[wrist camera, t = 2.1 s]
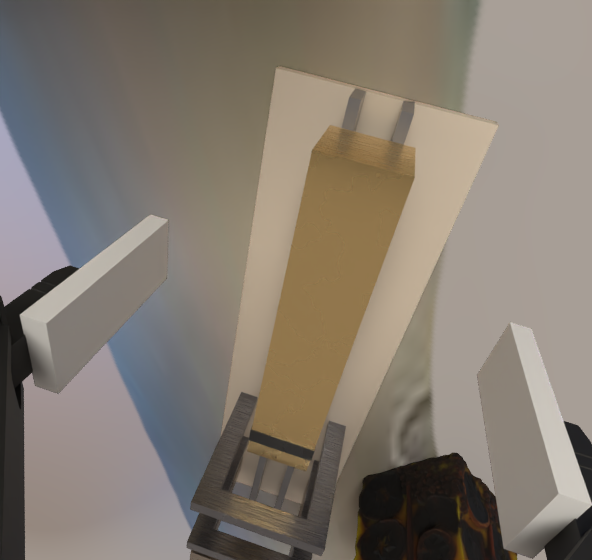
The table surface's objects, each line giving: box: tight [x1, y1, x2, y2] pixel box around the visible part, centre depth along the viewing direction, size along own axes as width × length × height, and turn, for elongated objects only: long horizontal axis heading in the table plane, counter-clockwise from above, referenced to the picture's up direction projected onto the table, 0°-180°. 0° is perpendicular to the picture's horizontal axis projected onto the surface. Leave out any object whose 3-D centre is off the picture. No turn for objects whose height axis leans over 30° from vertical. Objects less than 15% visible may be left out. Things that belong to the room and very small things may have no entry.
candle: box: [354, 453, 517, 560], centre depth 37 cm, size 10×10×10 cm
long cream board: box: [220, 66, 499, 510], centre depth 34 cm, size 40×12×3 cm, turn 169°
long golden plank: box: [247, 125, 416, 471], centre depth 26 cm, size 22×4×4 cm, turn 169°
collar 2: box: [187, 436, 319, 560], centre depth 37 cm, size 1×10×11 cm, turn 79°
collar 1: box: [190, 392, 346, 556], centre depth 34 cm, size 1×10×11 cm, turn 79°
